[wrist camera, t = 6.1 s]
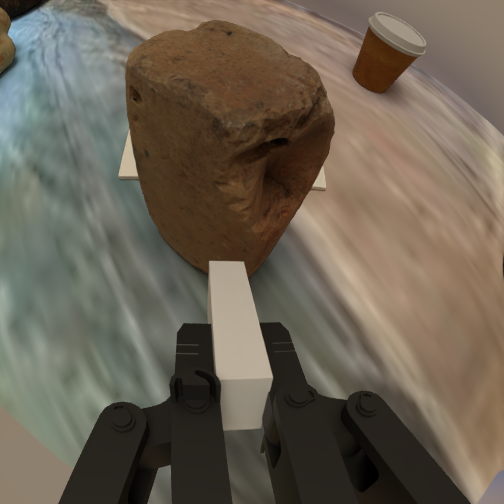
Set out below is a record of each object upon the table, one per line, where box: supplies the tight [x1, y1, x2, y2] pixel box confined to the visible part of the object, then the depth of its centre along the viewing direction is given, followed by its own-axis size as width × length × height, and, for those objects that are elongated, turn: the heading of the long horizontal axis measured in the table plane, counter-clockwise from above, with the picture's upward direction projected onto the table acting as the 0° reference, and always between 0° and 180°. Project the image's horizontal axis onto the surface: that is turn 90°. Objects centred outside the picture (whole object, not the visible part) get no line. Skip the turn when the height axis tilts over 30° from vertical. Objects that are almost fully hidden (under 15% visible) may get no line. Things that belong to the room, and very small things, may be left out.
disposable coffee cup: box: [353, 12, 426, 93], centre depth 37 cm, size 10×10×12 cm
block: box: [125, 20, 335, 278], centre depth 20 cm, size 11×8×20 cm
